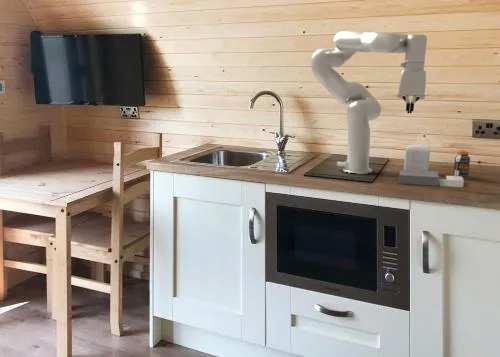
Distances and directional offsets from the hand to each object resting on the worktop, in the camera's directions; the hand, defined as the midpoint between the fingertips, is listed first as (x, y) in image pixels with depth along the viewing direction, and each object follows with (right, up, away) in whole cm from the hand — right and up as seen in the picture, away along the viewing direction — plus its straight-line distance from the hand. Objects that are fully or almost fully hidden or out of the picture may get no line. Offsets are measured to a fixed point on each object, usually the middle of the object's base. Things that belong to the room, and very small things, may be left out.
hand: (409, 112), depth 214 cm
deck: (+4, -28, +2) cm, 28 cm away
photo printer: (+9, -24, +19) cm, 32 cm away
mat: (+16, -29, -2) cm, 33 cm away
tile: (+17, -26, -3) cm, 32 cm away
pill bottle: (+25, -26, +10) cm, 37 cm away
